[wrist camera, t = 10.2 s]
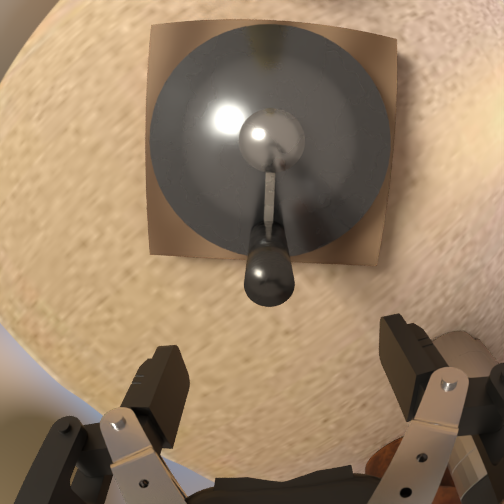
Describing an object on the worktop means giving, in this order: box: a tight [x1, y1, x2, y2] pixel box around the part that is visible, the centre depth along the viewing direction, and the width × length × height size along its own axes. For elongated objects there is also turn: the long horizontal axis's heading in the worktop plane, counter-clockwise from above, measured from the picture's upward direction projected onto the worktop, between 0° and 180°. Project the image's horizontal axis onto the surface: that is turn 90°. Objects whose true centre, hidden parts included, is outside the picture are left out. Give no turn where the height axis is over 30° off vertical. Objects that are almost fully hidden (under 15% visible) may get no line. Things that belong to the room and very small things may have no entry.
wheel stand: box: [145, 19, 397, 266], centre depth 22 cm, size 18×18×3 cm
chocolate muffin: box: [365, 437, 461, 504], centre depth 30 cm, size 18×20×18 cm
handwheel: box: [149, 24, 391, 307], centre depth 17 cm, size 16×16×9 cm
